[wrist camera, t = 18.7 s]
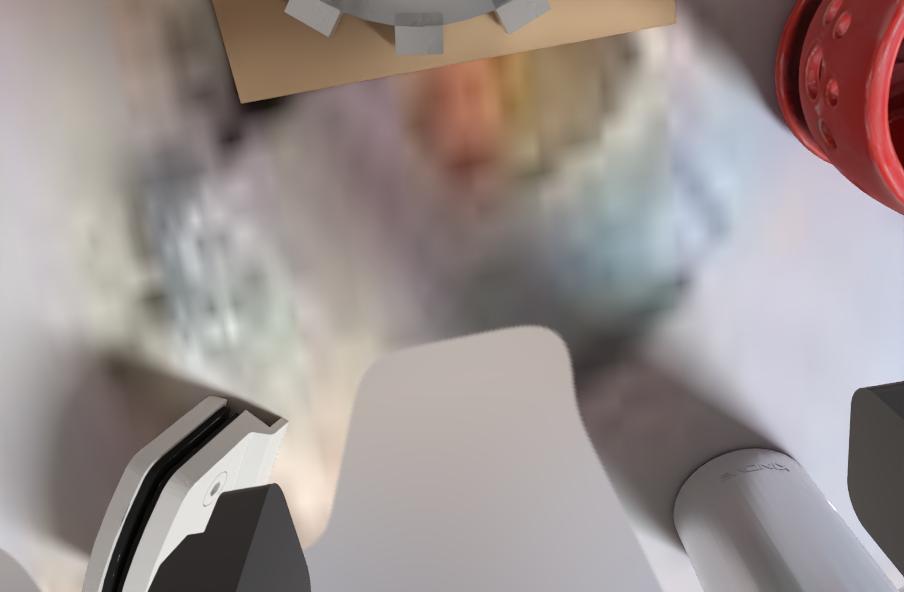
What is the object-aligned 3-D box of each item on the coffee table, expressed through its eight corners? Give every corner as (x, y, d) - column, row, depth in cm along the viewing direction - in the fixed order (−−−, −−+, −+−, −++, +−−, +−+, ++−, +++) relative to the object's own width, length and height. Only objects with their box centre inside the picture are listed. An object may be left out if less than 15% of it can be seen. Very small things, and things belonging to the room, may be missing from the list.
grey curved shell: (225, 609, 50) (124, 726, 41) (168, 576, 51) (57, 683, 42) (290, 416, 44) (189, 501, 35) (225, 381, 45) (109, 456, 36)
